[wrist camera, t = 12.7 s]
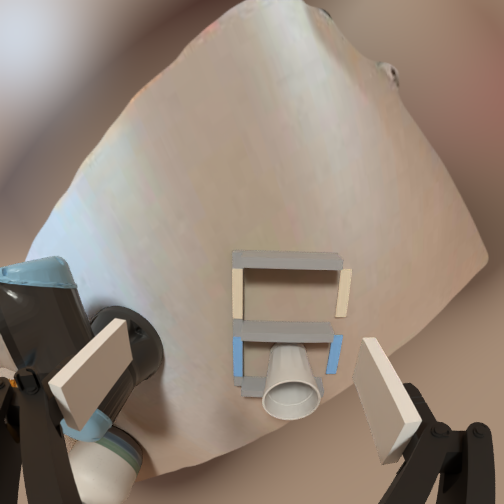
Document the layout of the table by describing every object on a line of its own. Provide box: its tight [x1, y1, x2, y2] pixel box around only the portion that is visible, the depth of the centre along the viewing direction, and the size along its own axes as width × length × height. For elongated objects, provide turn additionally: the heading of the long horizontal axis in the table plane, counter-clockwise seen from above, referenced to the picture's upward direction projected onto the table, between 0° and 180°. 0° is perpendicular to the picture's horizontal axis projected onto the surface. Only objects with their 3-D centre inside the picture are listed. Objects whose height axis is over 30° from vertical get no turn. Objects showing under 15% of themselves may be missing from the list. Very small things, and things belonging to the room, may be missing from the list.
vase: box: [68, 426, 142, 504], centre depth 45 cm, size 17×17×24 cm
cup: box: [262, 342, 321, 420], centre depth 41 cm, size 8×8×12 cm
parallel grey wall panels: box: [232, 250, 352, 397], centre depth 43 cm, size 18×24×4 cm
